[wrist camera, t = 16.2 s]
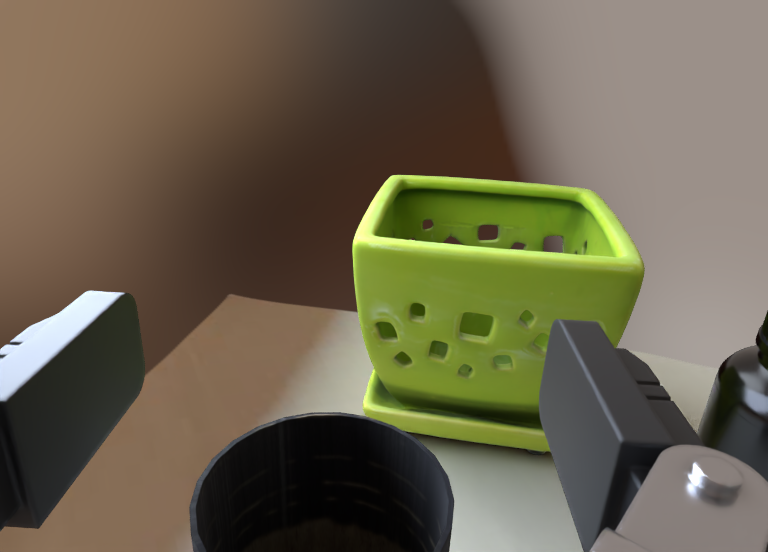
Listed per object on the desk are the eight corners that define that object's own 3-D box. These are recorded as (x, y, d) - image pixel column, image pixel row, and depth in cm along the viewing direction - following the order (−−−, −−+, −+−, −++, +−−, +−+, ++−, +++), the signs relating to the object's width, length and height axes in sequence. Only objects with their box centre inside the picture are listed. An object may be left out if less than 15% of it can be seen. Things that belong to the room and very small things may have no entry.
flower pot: (380, 332, 44) (389, 169, 39) (565, 355, 42) (599, 187, 38) (338, 452, 32) (343, 233, 27) (600, 491, 30) (658, 264, 25)
